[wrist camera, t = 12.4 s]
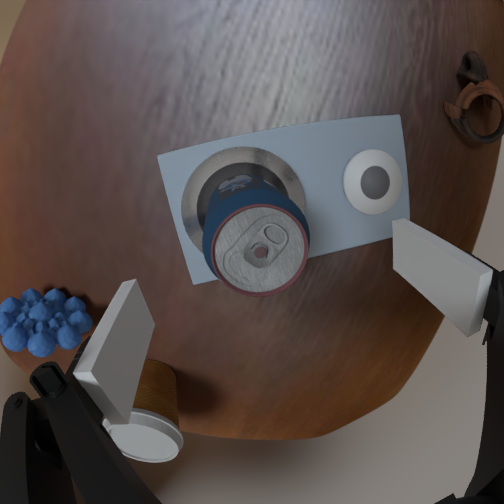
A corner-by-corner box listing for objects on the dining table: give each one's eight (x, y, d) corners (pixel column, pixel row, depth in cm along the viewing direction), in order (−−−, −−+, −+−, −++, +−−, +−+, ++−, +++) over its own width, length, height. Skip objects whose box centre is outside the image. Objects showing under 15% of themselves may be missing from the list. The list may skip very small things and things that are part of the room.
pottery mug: (490, 122, 30) (516, 146, 24) (438, 128, 34) (458, 153, 29) (479, 45, 23) (508, 56, 17) (421, 49, 27) (443, 58, 21)
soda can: (250, 256, 30) (268, 323, 19) (193, 216, 28) (176, 265, 17) (294, 202, 29) (341, 242, 18) (238, 157, 27) (251, 168, 16)
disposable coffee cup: (189, 400, 40) (186, 467, 29) (127, 395, 39) (112, 458, 28) (185, 352, 37) (178, 425, 25) (115, 347, 35) (90, 414, 24)
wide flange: (290, 135, 28) (293, 135, 27) (309, 248, 32) (312, 252, 31) (169, 162, 27) (167, 163, 26) (199, 274, 32) (199, 278, 31)
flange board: (394, 115, 29) (405, 114, 27) (405, 229, 34) (415, 235, 32) (159, 155, 28) (154, 156, 26) (194, 279, 33) (192, 289, 31)
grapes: (28, 308, 32) (-15, 360, 21) (27, 264, 30) (-27, 311, 19) (100, 335, 35) (69, 400, 23) (103, 291, 33) (64, 354, 21)
